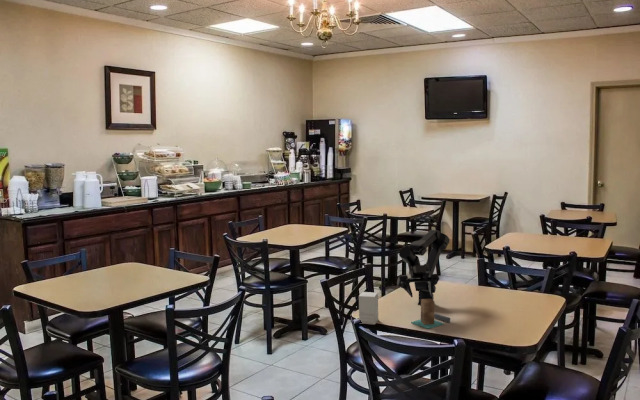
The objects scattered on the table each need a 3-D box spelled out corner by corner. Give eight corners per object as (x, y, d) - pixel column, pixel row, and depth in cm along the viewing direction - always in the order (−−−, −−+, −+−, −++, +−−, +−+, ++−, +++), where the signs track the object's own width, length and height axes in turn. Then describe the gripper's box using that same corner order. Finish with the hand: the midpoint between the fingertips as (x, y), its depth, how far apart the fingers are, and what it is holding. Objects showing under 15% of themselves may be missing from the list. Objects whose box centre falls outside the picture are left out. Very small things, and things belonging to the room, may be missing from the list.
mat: (411, 323, 238) (411, 322, 238) (426, 318, 244) (426, 317, 244) (428, 329, 230) (428, 328, 230) (443, 324, 236) (443, 323, 235)
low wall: (431, 317, 245) (431, 312, 245) (433, 316, 246) (433, 312, 246) (448, 322, 237) (448, 318, 237) (450, 322, 238) (450, 317, 238)
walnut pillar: (424, 324, 234) (424, 302, 233) (420, 321, 239) (420, 299, 238) (434, 324, 235) (434, 301, 234) (430, 320, 239) (431, 298, 238)
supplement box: (378, 319, 243) (378, 292, 242) (374, 325, 236) (374, 296, 235) (362, 318, 245) (362, 291, 244) (358, 323, 238) (358, 295, 237)
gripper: (398, 258, 245) (405, 288, 236) (438, 256, 248) (446, 286, 238) (394, 271, 254) (400, 300, 244) (432, 269, 256) (440, 298, 247)
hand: (421, 296), depth 243 cm, fingers open, 9 cm apart
